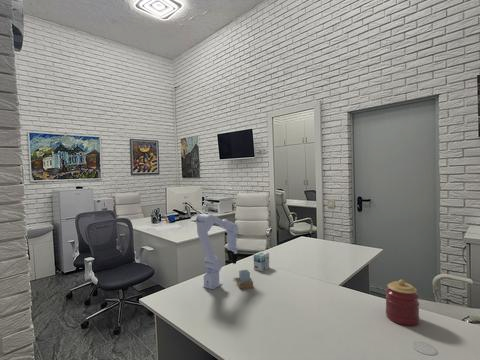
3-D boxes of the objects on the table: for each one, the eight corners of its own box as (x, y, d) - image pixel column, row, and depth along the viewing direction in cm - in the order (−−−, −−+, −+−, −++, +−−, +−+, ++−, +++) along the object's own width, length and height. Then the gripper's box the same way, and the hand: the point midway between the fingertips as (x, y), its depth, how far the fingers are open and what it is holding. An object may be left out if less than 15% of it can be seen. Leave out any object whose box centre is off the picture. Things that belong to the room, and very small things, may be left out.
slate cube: (250, 280, 156) (249, 272, 156) (241, 282, 154) (241, 273, 154) (247, 277, 161) (247, 269, 161) (239, 279, 159) (239, 270, 159)
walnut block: (253, 288, 155) (252, 281, 155) (239, 289, 153) (239, 282, 153) (249, 283, 163) (249, 276, 163) (237, 284, 161) (237, 277, 161)
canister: (403, 329, 111) (402, 287, 111) (379, 313, 124) (378, 276, 123) (426, 323, 115) (426, 283, 115) (401, 309, 127) (400, 273, 127)
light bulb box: (261, 271, 181) (261, 256, 181) (253, 269, 185) (253, 254, 185) (269, 267, 189) (269, 252, 189) (261, 265, 193) (261, 250, 193)
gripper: (241, 243, 168) (242, 264, 168) (234, 238, 182) (234, 257, 182) (231, 244, 166) (231, 265, 166) (224, 239, 179) (224, 259, 179)
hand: (232, 261), depth 174 cm, fingers open, 7 cm apart
